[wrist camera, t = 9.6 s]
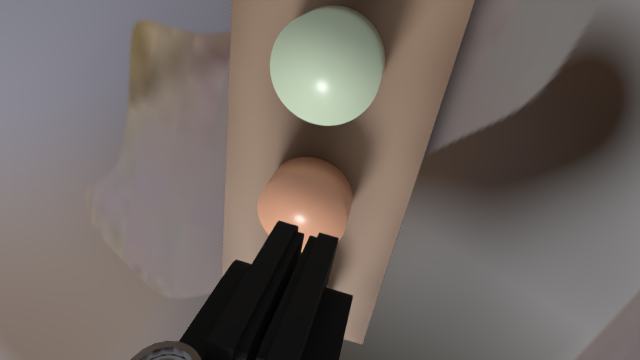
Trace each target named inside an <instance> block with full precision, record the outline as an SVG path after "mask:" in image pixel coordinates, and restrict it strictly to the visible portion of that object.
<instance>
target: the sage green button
mask: <svg viewBox="0 0 640 360" xmlns="http://www.w3.org/2000/svg"><path fill="white" fill-rule="evenodd" d="M384 67H385V51H384V46H383V43H382V40H381V37H380V35H379V33H378V31H377V30H376V28H375V27H374V25H373V24H372V23H371V22H370V21H369V20H368V19H367V18H366V17H365V16H363V15H362V14H360V13H359V12H357V11H355V10H353V9H351V8H348V7H344V6H337V5H329V6H323V7H319V8H316V9H314V10H312V11H310V12H308V13H306V14H304V15H302V16H300V17H298V18H296V19H294V20H293V21H291V22H290V23H289V24H288V25H287V26H286V27H285V28H284V29H283V30H282V31H281V33H280V34H279V36H278V37H277V39H276V41H275V43H274V46H273V49H272V52H271V58H270V74H271V79H272V83H273V86H274V89H275V91H276V93H277V95H278V97H279V98H280V100H281V101H282V103H283V104H284V105H285V106H286V107H287V108H288V109H289V110H290V111H291V112H292V113H293V114H295V115H296V116H297V117H299V118H301V119H303V120H305V121H307V122H310V123H313V124H317V125H323V126H332V125H339V124H343V123H346V122H349V121H351V120H353V119H355V118H356V117H358V116H359V115H361V114H362V113H363V112H364V111H365V110H366V109H367V108H368V107H369V106H370V104H371V103H372V101H373V100H374V98H375V96H376V94H377V92H378V89H379V85H380V82H381V79H382V75H383V72H384Z"/></svg>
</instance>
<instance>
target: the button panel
mask: <svg viewBox="0 0 640 360" xmlns="http://www.w3.org/2000/svg"><path fill="white" fill-rule="evenodd" d="M474 2H475V0H232V14H231V41H230V69H229V97H228V125H227V153H226V181H225V209H224V237H223V265H222V277H223V275H224V274H225V272H226V271H227V269H228V268H229V267H230V265H231V264H232V263H233V261H235V260H236V259H237V260H240V261H243V262H247V263H250V264H252V263H253V261H254V259H255V258H256V256H257V254H258V253H259V251H260V249H261V248H262V246H263V244H264V243H265V241H266V239H267V238H268V236H269V235H268V234H267V232H266V231H265V230H264V228H263V226H262V225H261V222H260V220H259V217H258V211H257V205H258V199H259V197H260V194H261V192H262V191H263V189H264V188H265V186H266V185H267V183H268V182H269V180H270V179H271V177H272V176H273V174H274V173H275V171H276V170H277V169H278V168H279V167H280V166H281V165H282V164H283V163H285V162H287V161H289V160H291V159H294V158H298V157H313V158H318V159H321V160H324V161H326V162H328V163H330V164H332V165H333V166H335V167H336V168H337V169H339V170H340V171H341V172H342V173H343V175H344V176H345V177H346V179H347V180H348V182H349V184H350V187H351V190H352V196H353V201H352V206H351V210H350V214H349V218H348V221H347V225H346V229H345V232H344V234H343V236H342V237H341V239H340V240H339V241H338V245H337V249H336V253H335V257H334V260H333V264H332V268H331V272H330V276H329V280H328V284H327V285H328V287H329V288H330V289H334V290H337V291H340V292H343V293H347V294H350V295H353V300H352V304H351V308H350V313H349V317H348V321H347V326H346V330H345V335H344V339H345V340H349V341H352V342H356V343H359V344H362V343H363V340H364V337H365V334H366V331H367V328H368V325H369V322H370V319H371V316H372V313H373V310H374V307H375V304H376V301H377V298H378V294H379V292H380V288H381V286H382V282H383V279H384V276H385V273H386V270H387V267H388V264H389V261H390V258H391V255H392V252H393V249H394V246H395V243H396V240H397V237H398V234H399V231H400V228H401V224H402V221H403V218H404V215H405V212H406V209H407V206H408V203H409V200H410V197H411V194H412V191H413V188H414V185H415V182H416V179H417V176H418V173H419V169H420V166H421V163H422V160H423V157H424V154H425V151H426V148H427V145H428V142H429V139H430V136H431V133H432V130H433V127H434V124H435V121H436V118H437V115H438V112H439V109H440V105H441V102H442V99H443V96H444V93H445V90H446V87H447V84H448V81H449V78H450V75H451V72H452V69H453V66H454V63H455V60H456V57H457V54H458V51H459V47H460V44H461V41H462V38H463V35H464V32H465V29H466V26H467V23H468V20H469V17H470V14H471V11H472V8H473V5H474ZM329 5H337V6H344V7H348V8H351V9H353V10H355V11H357V12H359V13H360V14H362V15H363V16H365V17H366V18H367V19H368V20H369V21H370V22H371V23H372V24H373V25H374V27H375V28H376V30H377V31H378V33H379V35H380V37H381V40H382V43H383V46H384V51H385V67H384V72H383V75H382V79H381V82H380V85H379V89H378V92H377V94H376V96H375V98H374V100H373V101H372V103H371V104H370V106H369V107H368V108H367V109H366V110H365V111H364V112H363V113H362V114H361V115H359V116H358V117H356V118H355V119H353V120H351V121H349V122H346V123H343V124H339V125H332V126H323V125H317V124H313V123H310V122H307V121H305V120H303V119H301V118H299V117H297V116H296V115H295V114H293V113H292V112H291V111H290V110H289V109H288V108H287V107H286V106H285V105H284V104H283V103H282V101H281V100H280V98H279V97H278V95H277V93H276V91H275V89H274V86H273V83H272V79H271V74H270V58H271V52H272V49H273V46H274V43H275V41H276V39H277V37H278V36H279V34H280V33H281V31H282V30H283V29H284V28H285V27H286V26H287V25H288V24H289V23H290V22H291V21H293V20H294V19H296V18H298V17H300V16H302V15H304V14H306V13H308V12H310V11H312V10H314V9H316V8H319V7H323V6H329ZM301 254H302V252H301ZM300 256H301V255H300Z"/></svg>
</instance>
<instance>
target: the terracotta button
mask: <svg viewBox="0 0 640 360" xmlns="http://www.w3.org/2000/svg"><path fill="white" fill-rule="evenodd" d="M352 201H353V196H352V190H351V187H350V184H349V182H348V180H347V179H346V177H345V176H344V175H343V173H342V172H341V171H340V170H339V169H337V168H336V167H335V166H333V165H332V164H330V163H328V162H326V161H324V160H321V159H318V158H313V157H298V158H294V159H291V160H289V161H287V162H285V163H283V164H282V165H281V166H280V167H279V168H278V169H277V170H276V171H275V173H274V174H273V176H272V177H271V179H270V180H269V182H268V183H267V185H266V186H265V188H264V189H263V191H262V192H261V194H260V197H259V199H258V205H257V211H258V217H259V220H260V222H261V225H262V226H263V228H264V230H265V231H266V232H267V234H268V235H270V233H271V231H272V230H273V228H274V226H275V225H276V223H277V222H278V221H283V222H286V223H290V224H293V225H296V226H298V232H301V233H304V240H303V245H302V250H301V252H303V249H304V247H305V245H306V243H307V241H308V238H309V236H310V235H311V236H314V237H317V236H318V234H319V232H320V233H324V234H327V235H330V236H334V237H337V238H339V240H340V239H341V237H342V236H343V234H344V232H345V229H346V225H347V221H348V218H349V214H350V210H351V206H352ZM339 240H338V241H339Z"/></svg>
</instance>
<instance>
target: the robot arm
mask: <svg viewBox="0 0 640 360" xmlns="http://www.w3.org/2000/svg"><path fill="white" fill-rule="evenodd" d="M303 240H304V233H301V232H298V226H296V225H293V224H290V223H286V222H283V221H278V222H277V223H276V225H275V226H274V228H273V230H272V231H271V233H270V235H269V236H268V238H267V239H266V241H265V243H264V244H263V246H262V248H261V249H260V251H259V253H258V254H257V256H256V258H255V259H254V261H253V263H252V264H250V263H247V262H243V261H240V260H237V259H236V260H235V261H233V263H232V264H231V265H230V267H229V268H228V269H227V271H226V272H225V274H224V275H223V277H222V278H221V280H220V281H219V283H218V284H217V286H216V287H215V289H214V290H213V292H212V293H211V295H210V296H209V298H208V299H207V301H206V302H205V304H204V305H203V307H202V308H201V310H200V311H199V313H198V314H197V315H196V317H195V319H194V320H193V321H192V323H191V324H190V326H189V327H188V329H187V330H186V332H185V333H184V335H183V336H182V338H181V339H180V341H163V342H158V343H154V344H152V345H150V346H148V347H146V348H144V349H142V350H141V351H140V352H139V353H137V354H136V355H135V356H134V357H133V358H132V359H131V360H339V356H340V351H341V347H342V343H343V339H344V335H345V330H346V326H347V321H348V317H349V313H350V308H351V304H352V300H353V295H350V294H347V293H343V292H340V291H337V290H334V289H330V288H327V284H328V280H329V276H330V272H331V268H332V264H333V260H334V257H335V253H336V249H337V245H338V240H339V238H337V237H334V236H330V235H327V234H324V233H320V232H319V234H318V236H317V237H314V236H311V235H310V236H309V238H308V241H307V243H306V245H305V247H304V249H303V252H302V254H301V250H302V245H303ZM300 255H301V256H300Z"/></svg>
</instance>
